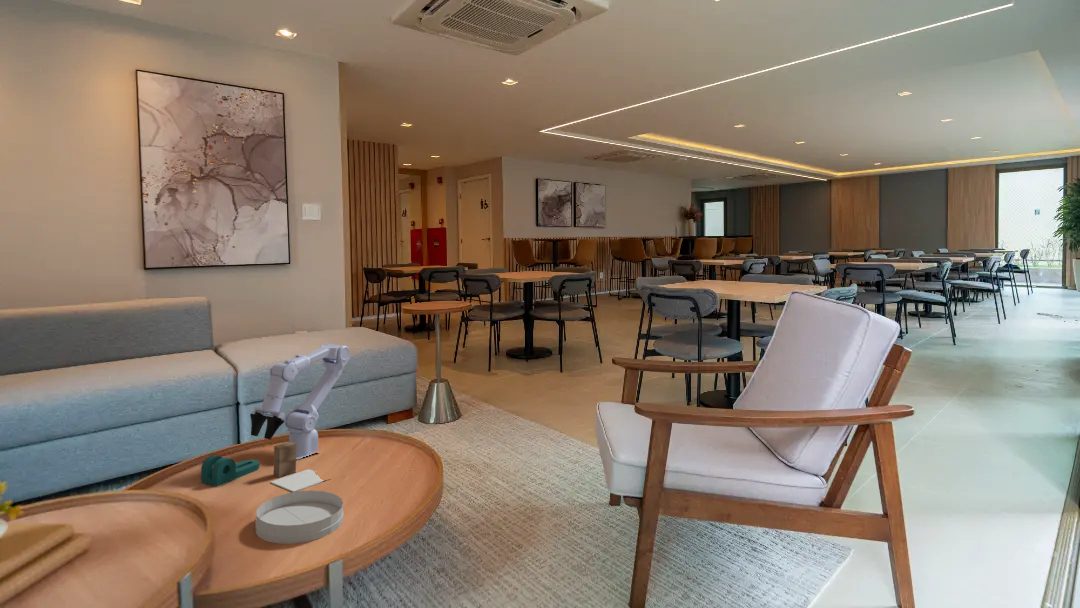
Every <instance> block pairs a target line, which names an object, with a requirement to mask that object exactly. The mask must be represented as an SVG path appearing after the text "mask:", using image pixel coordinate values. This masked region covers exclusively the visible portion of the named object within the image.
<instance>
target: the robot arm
mask: <svg viewBox="0 0 1080 608" xmlns="http://www.w3.org/2000/svg"><path fill="white" fill-rule="evenodd" d="M350 359H351V352H350V348H349V346H348V345H341V344H333V343H324V344H321V345H320V346H319V347H318V348H317V349H315V350H313V351H311V352H309V353H308V354H307V355H304V354H300V353H297V354H296V355H295V357H292V358H289V359H285V361H284V362H276V363H275V364H274V365H273V366H272V367H270V368H269V377H270V378H269V384H268V387H267V390H266V393H265V395H264V399H263V401H262V404H261V407H257V406H256V407H255V406H254V409H253V412H252V413H250V415H249V416H250V420H251V421H250V422H251V426H250V427H251V428H250V436H254V437H258V436H259V434H260V432H261V430H262V428H263V425H264V424H265V422H266V429H265V432H264V439H265V440H272V438H273V437H274V435H275V434H276V433H277V430H278V429H279V428H280V427H281V426H282V425H283V424H284V426H285V427H286V428H287V431H288V432H289V436H288V440H289V441H288V442H293V443H296V461H297V460H302V459H304V458H303V457H305V458H307V457H306V456H308V457H310V456H309V454H310V455H311V454H312V453H314V452H315V451H317V450H318V451H319V434H318V433H319V432H318V431H317V430H316V428H315V427H316V425H317V421H318V419H319V418H320V415H319V413H318V409H319V407H320V406H321V404H322V403H323V402H324V400H325V398H326V397H327V395H328V394H329V393H330V391H331V389H332V388H333V387H334V385H335V384H336V382H337V381H338V379H339V377H341V375H342V373H343V370H344V368H345V366H346V365H347V363H348V362H349V361H350ZM320 360H322V363H323V366H324V367H325V371H324V373H322V376H321V377H320V378H319V380H318V381H317V382H316V384H315V385H314V387H313V388H312V390H311V391H310V393H309V394H308V395H307V397H306V399H304V401H303V403H301V404H299V405H296V406H294V407H293V409H292V410H291V411H289V412H288V413H287V414H286V413H285V412H282V411H280V409H281V407H282V404H283V401H284V398H285V395H286V393H287V389H288V386H289V383H290V381H293V380H294V379H295V377H296V375H298V374H300V373H302V372H305V371H306V370H308V369H309V368H310V365H311V364H313V363H316V362H318V361H320ZM311 456H312V455H311Z"/></svg>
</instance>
